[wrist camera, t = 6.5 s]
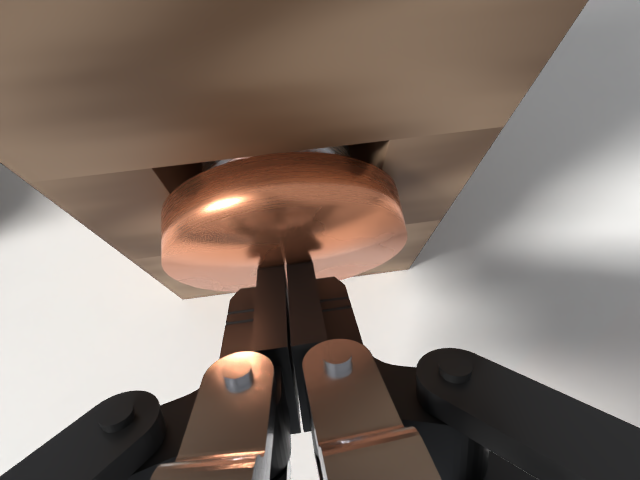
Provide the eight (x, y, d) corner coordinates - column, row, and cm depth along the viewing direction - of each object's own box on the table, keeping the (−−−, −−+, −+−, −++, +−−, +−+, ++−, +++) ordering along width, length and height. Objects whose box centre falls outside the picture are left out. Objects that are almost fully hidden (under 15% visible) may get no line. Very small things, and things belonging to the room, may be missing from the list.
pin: (200, 302, 13) (113, 229, 8) (188, -3, 18) (129, -185, 12) (387, 276, 14) (435, 189, 8) (328, -16, 18) (332, -201, 13)
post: (182, 299, 18) (-406, -142, 3) (179, 143, 21) (-154, -468, 6) (408, 269, 19) (742, -229, 4) (375, 121, 22) (498, -496, 7)
